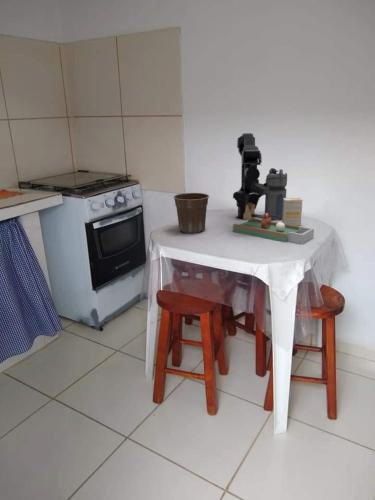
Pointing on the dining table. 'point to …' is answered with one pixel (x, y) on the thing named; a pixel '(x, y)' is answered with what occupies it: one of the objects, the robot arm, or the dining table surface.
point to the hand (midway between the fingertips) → (249, 211)
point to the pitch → (275, 231)
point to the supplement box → (292, 211)
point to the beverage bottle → (275, 193)
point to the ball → (280, 226)
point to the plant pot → (191, 211)
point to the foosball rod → (257, 216)
